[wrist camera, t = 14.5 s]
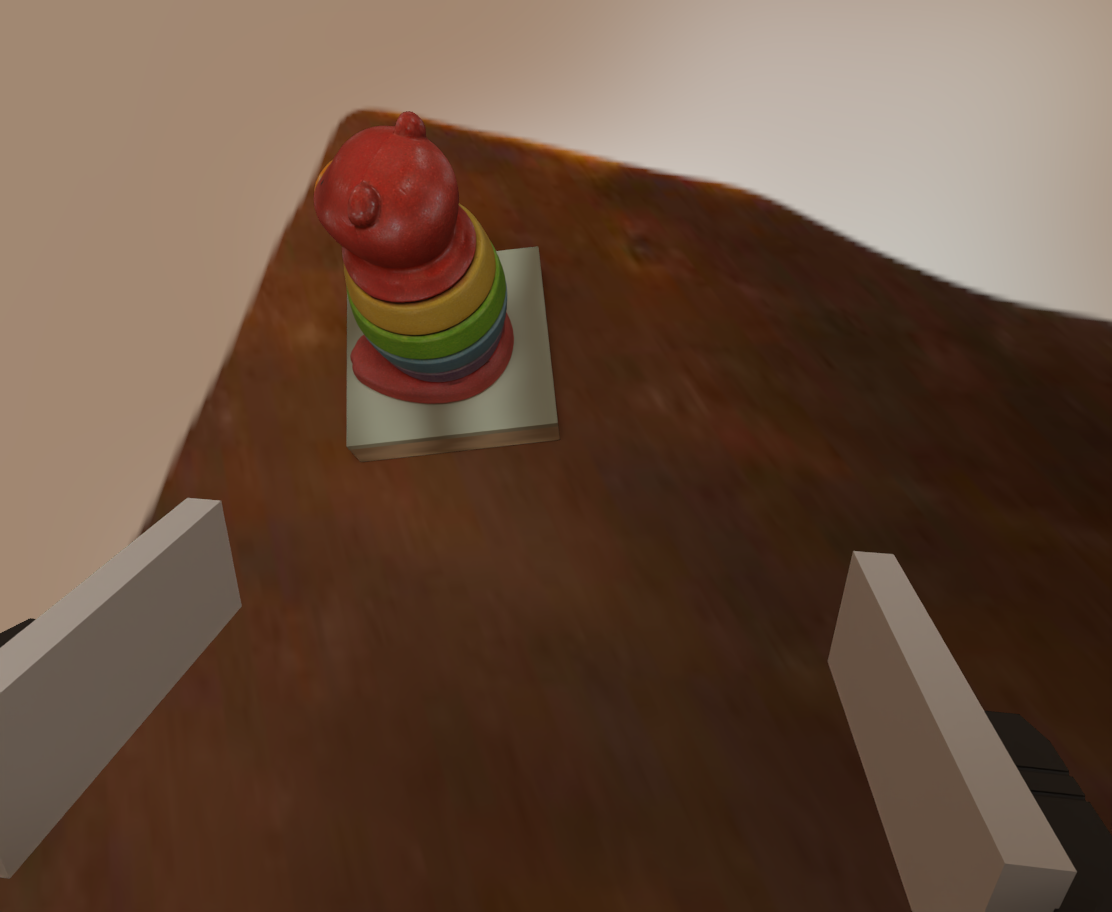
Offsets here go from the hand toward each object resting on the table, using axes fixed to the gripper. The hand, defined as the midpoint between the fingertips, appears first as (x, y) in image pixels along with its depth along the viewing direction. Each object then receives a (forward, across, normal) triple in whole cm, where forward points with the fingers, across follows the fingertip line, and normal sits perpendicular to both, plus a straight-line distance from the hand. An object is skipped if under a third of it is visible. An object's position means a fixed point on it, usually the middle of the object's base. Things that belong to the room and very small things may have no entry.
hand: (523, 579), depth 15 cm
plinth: (+37, -11, -7) cm, 39 cm away
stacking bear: (+35, -11, -5) cm, 37 cm away
